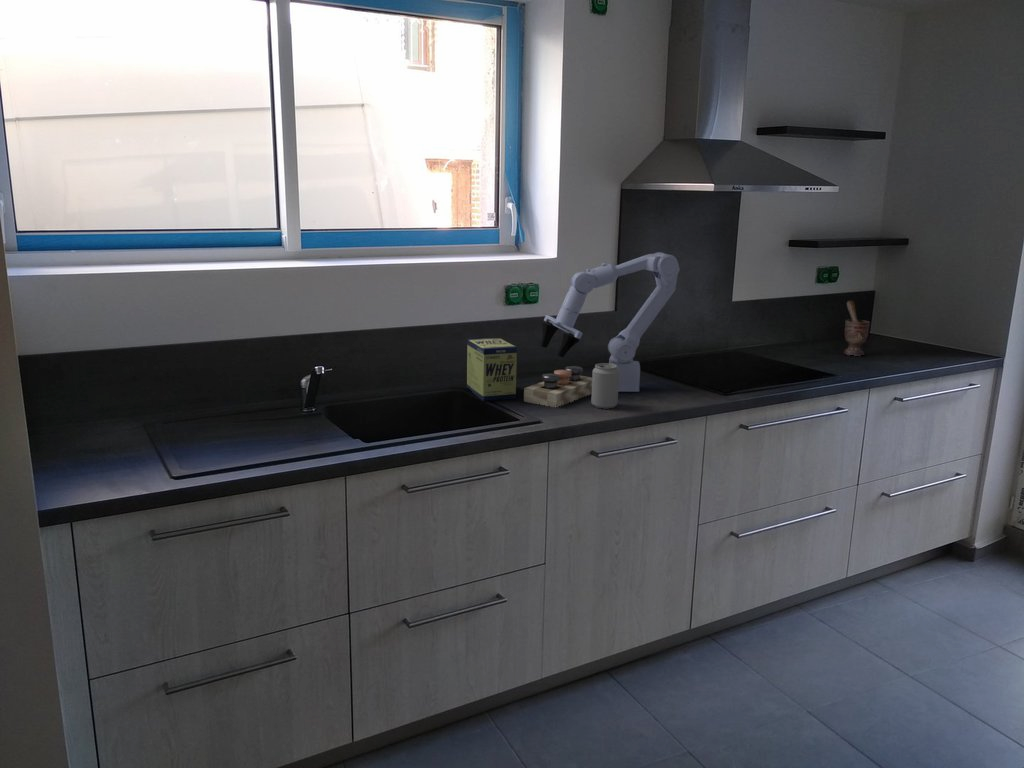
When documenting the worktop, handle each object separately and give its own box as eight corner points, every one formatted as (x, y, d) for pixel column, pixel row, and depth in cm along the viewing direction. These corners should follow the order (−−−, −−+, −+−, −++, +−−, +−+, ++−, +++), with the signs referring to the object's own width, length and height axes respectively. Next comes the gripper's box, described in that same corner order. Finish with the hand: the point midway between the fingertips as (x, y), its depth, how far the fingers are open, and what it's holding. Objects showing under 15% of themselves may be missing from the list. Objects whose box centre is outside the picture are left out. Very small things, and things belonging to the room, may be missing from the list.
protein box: (483, 401, 238) (483, 348, 234) (466, 388, 252) (466, 338, 248) (516, 398, 241) (518, 346, 238) (498, 386, 255) (498, 337, 252)
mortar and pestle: (830, 352, 318) (836, 300, 314) (845, 350, 322) (851, 299, 318) (855, 357, 309) (861, 304, 304) (870, 355, 313) (877, 303, 308)
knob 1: (558, 388, 242) (559, 373, 241) (560, 392, 237) (561, 377, 236) (540, 388, 241) (541, 373, 240) (542, 392, 236) (543, 377, 235)
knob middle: (569, 384, 247) (570, 369, 246) (572, 388, 242) (572, 373, 241) (552, 384, 246) (553, 369, 245) (554, 388, 241) (555, 373, 240)
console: (567, 385, 257) (567, 373, 257) (598, 391, 251) (598, 378, 250) (523, 401, 238) (524, 388, 237) (556, 407, 232) (556, 394, 231)
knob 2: (580, 380, 252) (581, 366, 251) (583, 384, 247) (583, 370, 246) (563, 380, 252) (564, 366, 251) (565, 384, 247) (566, 369, 245)
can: (602, 401, 240) (604, 361, 237) (622, 406, 235) (625, 365, 232) (585, 405, 235) (587, 364, 232) (606, 411, 230) (608, 369, 227)
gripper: (545, 299, 249) (527, 340, 251) (578, 315, 239) (559, 358, 241) (560, 304, 254) (542, 344, 256) (593, 320, 244) (574, 362, 247)
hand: (551, 351), depth 249 cm, fingers open, 7 cm apart
